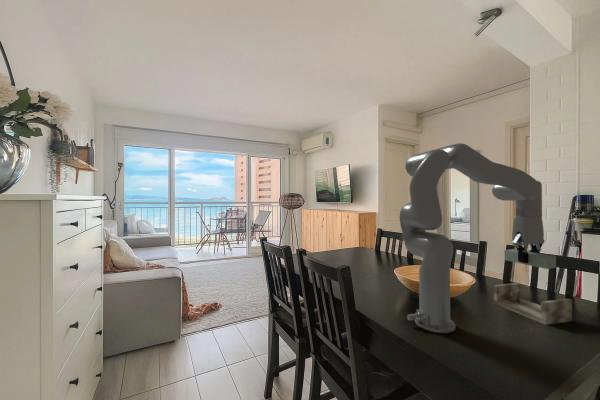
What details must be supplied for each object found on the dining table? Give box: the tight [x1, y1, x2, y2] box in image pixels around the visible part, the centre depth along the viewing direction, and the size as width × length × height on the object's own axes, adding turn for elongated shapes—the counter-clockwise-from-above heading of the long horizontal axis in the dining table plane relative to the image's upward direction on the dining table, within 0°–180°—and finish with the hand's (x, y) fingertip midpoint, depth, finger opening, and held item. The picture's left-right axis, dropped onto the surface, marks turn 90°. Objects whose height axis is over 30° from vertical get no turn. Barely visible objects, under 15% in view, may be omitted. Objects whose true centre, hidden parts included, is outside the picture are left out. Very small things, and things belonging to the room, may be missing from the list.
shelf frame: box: [493, 282, 573, 326], centre depth 100 cm, size 12×19×8 cm, turn 12°
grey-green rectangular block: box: [504, 248, 557, 270], centre depth 99 cm, size 14×5×4 cm, turn 18°
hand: (528, 261), depth 99 cm, fingers closed on grey-green rectangular block, 5 cm apart
